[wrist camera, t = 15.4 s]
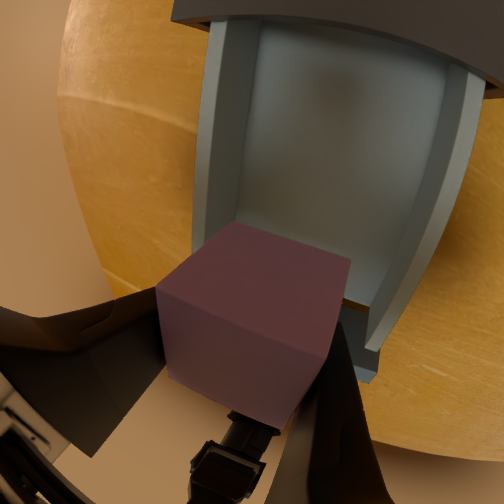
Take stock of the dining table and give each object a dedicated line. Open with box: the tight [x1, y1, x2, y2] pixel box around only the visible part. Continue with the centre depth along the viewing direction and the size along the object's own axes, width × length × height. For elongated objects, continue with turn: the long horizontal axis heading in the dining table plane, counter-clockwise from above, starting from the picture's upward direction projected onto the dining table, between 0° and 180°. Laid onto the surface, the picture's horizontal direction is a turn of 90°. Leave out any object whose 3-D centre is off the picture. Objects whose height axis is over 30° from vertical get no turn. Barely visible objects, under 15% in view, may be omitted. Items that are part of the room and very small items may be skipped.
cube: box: [155, 221, 351, 430], centre depth 8 cm, size 4×4×4 cm
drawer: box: [192, 20, 486, 383], centre depth 14 cm, size 23×12×5 cm, turn 172°
